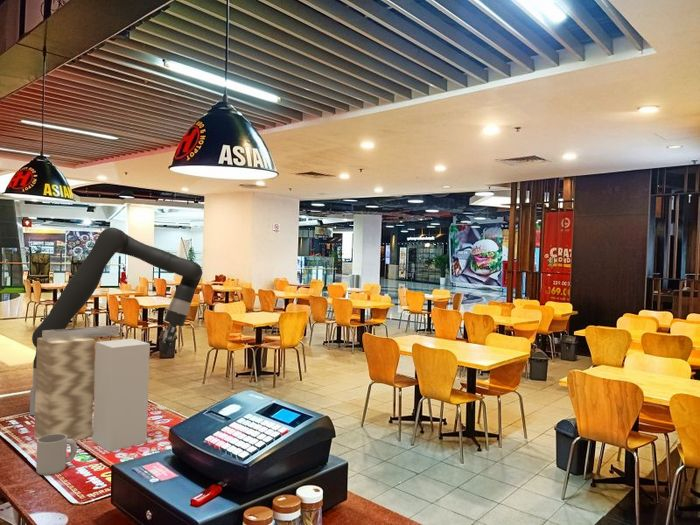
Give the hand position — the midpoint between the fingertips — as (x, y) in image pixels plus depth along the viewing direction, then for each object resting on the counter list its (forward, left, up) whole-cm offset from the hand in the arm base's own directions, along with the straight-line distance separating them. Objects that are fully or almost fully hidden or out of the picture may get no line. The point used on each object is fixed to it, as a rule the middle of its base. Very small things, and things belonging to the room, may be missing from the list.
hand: (162, 353), depth 195 cm
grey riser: (-9, -27, -23) cm, 37 cm away
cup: (-22, -47, -24) cm, 57 cm away
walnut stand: (-28, -20, -23) cm, 41 cm away
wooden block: (-24, -17, +9) cm, 30 cm away
